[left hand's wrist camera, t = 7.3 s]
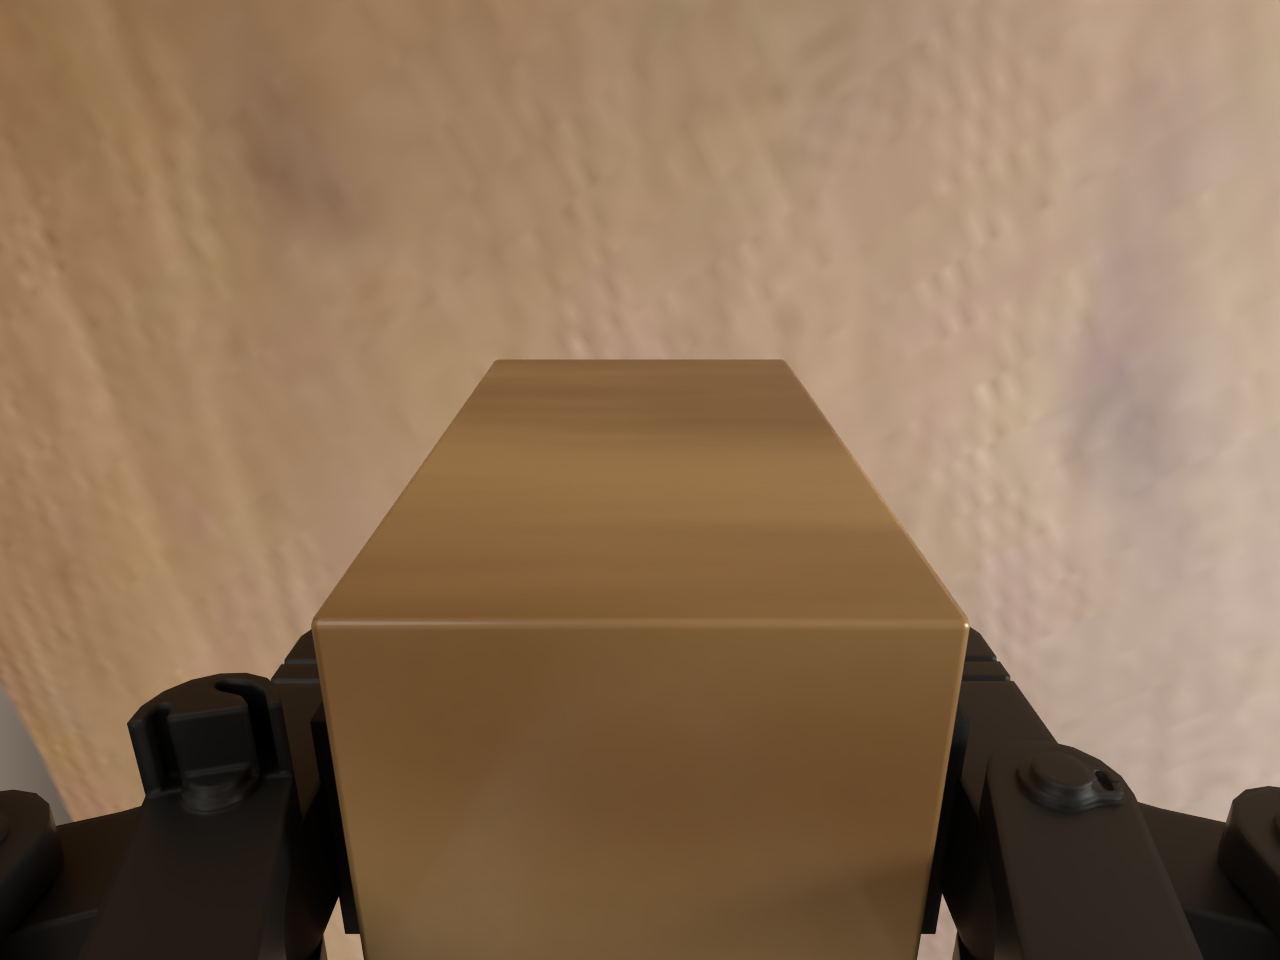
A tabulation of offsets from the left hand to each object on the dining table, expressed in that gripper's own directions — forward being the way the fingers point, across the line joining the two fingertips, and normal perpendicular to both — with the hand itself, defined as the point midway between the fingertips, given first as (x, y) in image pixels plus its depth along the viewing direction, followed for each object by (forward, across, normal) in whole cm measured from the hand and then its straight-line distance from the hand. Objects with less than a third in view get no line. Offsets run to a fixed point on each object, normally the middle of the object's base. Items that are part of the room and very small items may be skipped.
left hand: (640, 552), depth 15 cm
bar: (+1, 0, -9) cm, 9 cm away
